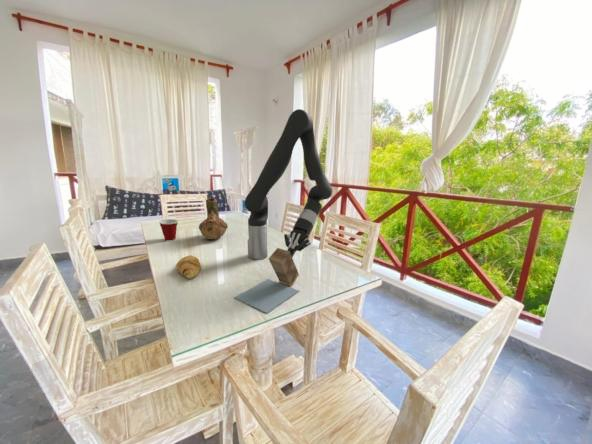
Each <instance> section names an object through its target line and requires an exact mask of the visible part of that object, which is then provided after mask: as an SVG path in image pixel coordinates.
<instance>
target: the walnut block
mask: <svg viewBox="0 0 592 444" xmlns="http://www.w3.org/2000/svg"><path fill="white" fill-rule="evenodd" d="M287 250H288V249H283V248H279V247H277V248H276V249H275V250H274V252H273V253H272V254H271V255H270V256H269V258H268V260H269V263H270V266H272V269H273V271H274V273H275V275H276V277H277V280H278V281H279V283H280V284H283V285H285V286H287V285H288V287H292V286H293V285H294V283H295V282H296V280H297V279H298V278H299V276H300V274H299V271H298V269H297V266H296V264H295V262H294V258H293V257H292V256H291V254H290V251H287Z"/></svg>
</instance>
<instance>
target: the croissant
mask: <svg viewBox="0 0 592 444" xmlns="http://www.w3.org/2000/svg"><path fill="white" fill-rule="evenodd" d="M175 269H176V271H177V272H178V274H180V273H181V274H180V275H182V274H183V275H184V276H183V275H182V276H183V277H185V278H187V279H189V280H191V279H194V276H195V277H196V276H197V275H198V274H199V272H200V271H201V269H202V267H201V262H200V260H199V258H197V256H194V255H187V256H186V255H185V256H184V257H182V258H181V259H179V260H178V261H177V263H176V264H175ZM199 270H200V271H199Z"/></svg>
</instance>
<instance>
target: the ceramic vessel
mask: <svg viewBox="0 0 592 444" xmlns="http://www.w3.org/2000/svg"><path fill="white" fill-rule="evenodd" d="M205 204H206V206H205V208H206V214H207V217H206V219H204V220H203V221H202V222H200V223H199V224H198V229H199V231H200V233H201V235H202V236H203V237H204V238H206V239H209V240H216V239H219V238H221V237H223V236H224V235H225V233H226V232H227V229H228V223H227V222H226V221H225V220H223V218H221V217H220V215H219V206H218V200H217V199H216V198H215V197H213V198H207V199H205Z"/></svg>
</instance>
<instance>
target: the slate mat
mask: <svg viewBox="0 0 592 444" xmlns="http://www.w3.org/2000/svg"><path fill="white" fill-rule="evenodd" d="M298 293H300V290H298V289H296V288H293V287H292V286H289V285H288V286H287V285H286V284H284V283H281V282H277V281H275V280H272V279H269V278H267V279H266V280H263V281H262V282H260V283H258V284H256V285H254V286H252V287H251V288H249V289H246V290H245V291H243V292H241V293H239V294H238V295H235V296H234V299H235V298H237V299H236V300H238V299H239V300H238V301H240V300H241V301H240V302H242V301H243V302H242V303H244V302H245V303H244V304H246V303H247V304H246V305H248V304H249V305H248V306H250V305H252V306H254V307H255V308H254V307H253V308H254V309H256V308H257V309H256V310H258V309H259V310H258V311H260V310H261V311H260V312H262V311H263V312H262V313H264V312H265V313H264V314H266V313H268V314H269V313H270V312H272V311H273V310H275V309H277V307H279V306H280V305H282V304H283V303H285V302H287V301H288V300H290V299H291V298H292V297H294V296H295V295H297V294H298ZM252 306H251V307H252Z"/></svg>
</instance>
